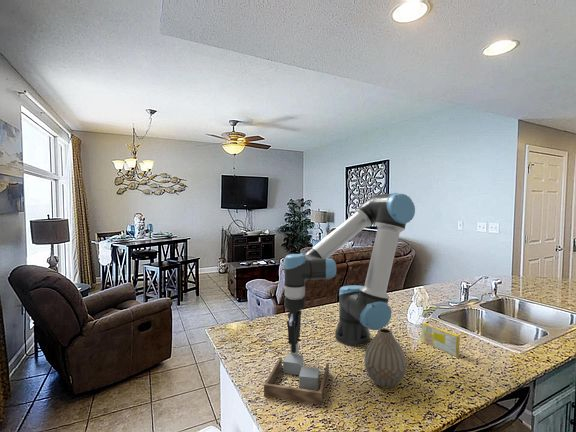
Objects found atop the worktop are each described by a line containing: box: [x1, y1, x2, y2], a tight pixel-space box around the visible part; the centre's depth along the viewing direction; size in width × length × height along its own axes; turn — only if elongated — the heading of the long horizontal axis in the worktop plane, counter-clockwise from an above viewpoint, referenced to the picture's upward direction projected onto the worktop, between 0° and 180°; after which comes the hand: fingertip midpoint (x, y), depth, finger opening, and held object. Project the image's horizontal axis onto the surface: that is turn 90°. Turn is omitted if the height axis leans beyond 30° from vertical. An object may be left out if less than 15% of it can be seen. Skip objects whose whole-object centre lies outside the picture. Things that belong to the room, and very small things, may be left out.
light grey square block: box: [298, 366, 320, 391], centre depth 102 cm, size 6×6×4 cm
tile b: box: [282, 353, 304, 376], centre depth 111 cm, size 6×6×4 cm
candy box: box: [421, 322, 461, 358], centre depth 127 cm, size 16×2×8 cm, turn 28°
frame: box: [263, 356, 330, 406], centre depth 102 cm, size 18×18×4 cm
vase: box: [363, 327, 407, 389], centre depth 102 cm, size 13×13×18 cm
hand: (294, 359), depth 115 cm, fingers closed
